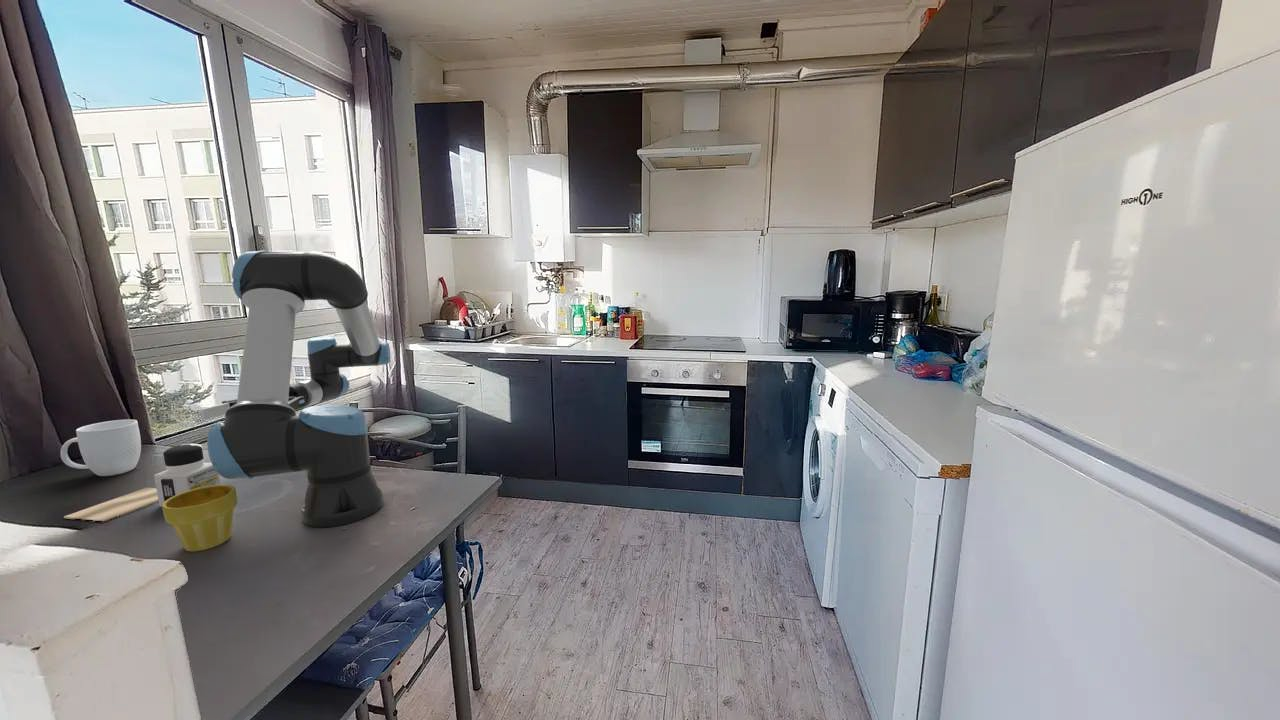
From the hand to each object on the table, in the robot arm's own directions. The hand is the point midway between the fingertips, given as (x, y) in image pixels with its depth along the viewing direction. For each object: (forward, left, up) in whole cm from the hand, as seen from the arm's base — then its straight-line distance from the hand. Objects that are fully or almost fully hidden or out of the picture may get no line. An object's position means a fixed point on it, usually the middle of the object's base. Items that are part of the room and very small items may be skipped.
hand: (224, 415), depth 117 cm
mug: (+40, 0, -18) cm, 43 cm away
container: (0, +10, -18) cm, 20 cm away
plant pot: (-24, +25, -18) cm, 39 cm away
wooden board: (+12, +15, -17) cm, 25 cm away
